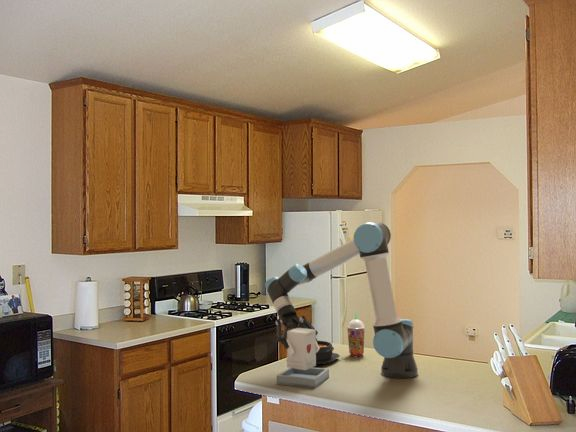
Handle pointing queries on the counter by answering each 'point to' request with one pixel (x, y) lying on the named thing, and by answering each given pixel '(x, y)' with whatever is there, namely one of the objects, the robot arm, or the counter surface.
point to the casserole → (325, 353)
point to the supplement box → (302, 348)
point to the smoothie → (356, 337)
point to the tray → (303, 377)
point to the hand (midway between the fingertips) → (305, 352)
